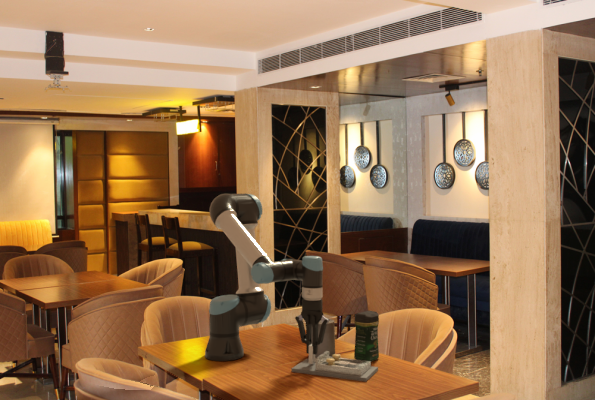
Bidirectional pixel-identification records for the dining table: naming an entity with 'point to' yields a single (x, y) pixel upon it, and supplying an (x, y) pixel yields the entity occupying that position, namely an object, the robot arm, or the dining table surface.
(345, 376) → the board
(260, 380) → the dining table surface
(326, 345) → the pillar candle
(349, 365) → the keyhole panel
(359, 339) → the coffee jar
